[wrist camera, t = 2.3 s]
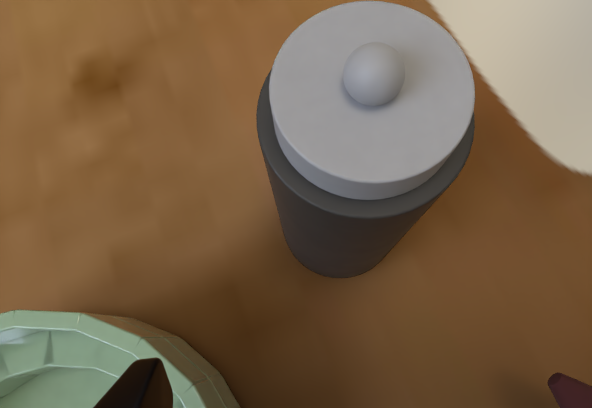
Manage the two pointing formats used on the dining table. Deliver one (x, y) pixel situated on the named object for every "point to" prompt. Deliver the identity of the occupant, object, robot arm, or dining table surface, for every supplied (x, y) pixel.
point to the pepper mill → (362, 130)
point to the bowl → (94, 360)
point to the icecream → (570, 391)
